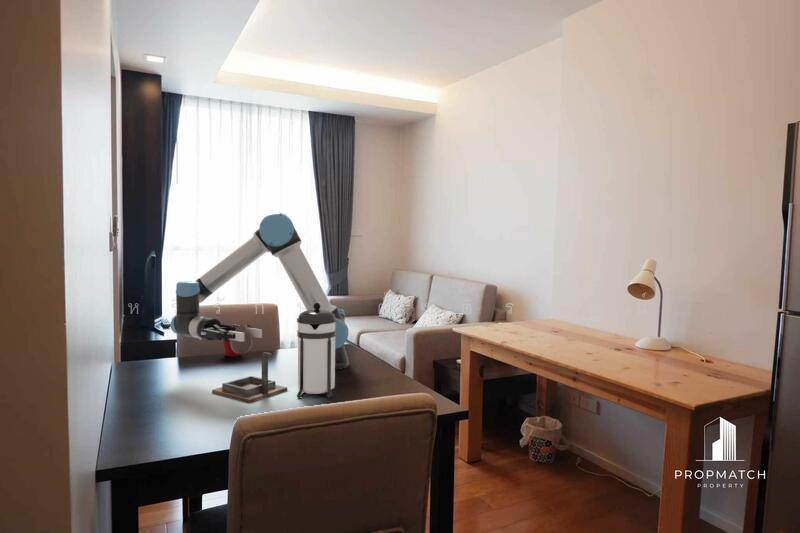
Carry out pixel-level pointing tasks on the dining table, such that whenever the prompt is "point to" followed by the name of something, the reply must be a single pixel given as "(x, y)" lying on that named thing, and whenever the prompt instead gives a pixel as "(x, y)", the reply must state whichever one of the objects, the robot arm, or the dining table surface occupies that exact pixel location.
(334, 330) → the coffee press
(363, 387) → the dining table surface
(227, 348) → the plastic cup
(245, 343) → the vase
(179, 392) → the dining table surface
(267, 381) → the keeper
